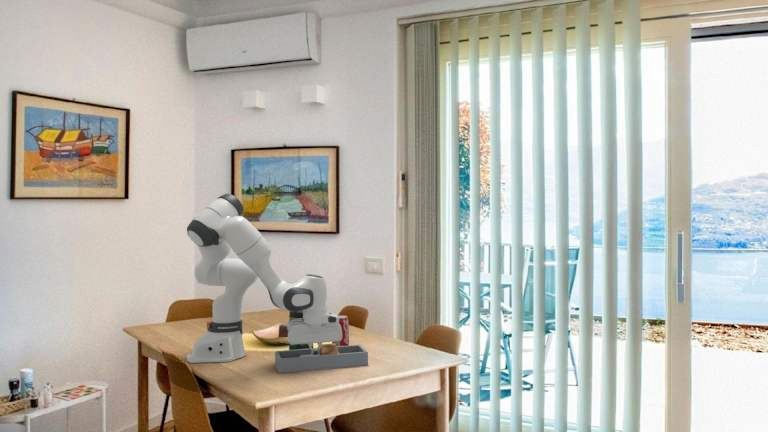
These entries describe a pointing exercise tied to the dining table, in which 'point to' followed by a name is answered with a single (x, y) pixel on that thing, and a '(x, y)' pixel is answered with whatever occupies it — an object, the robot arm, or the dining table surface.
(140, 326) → the dining table surface
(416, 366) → the dining table surface
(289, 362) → the box
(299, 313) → the coffee jar
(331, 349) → the block
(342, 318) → the soda can
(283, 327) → the food item
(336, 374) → the dining table surface
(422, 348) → the dining table surface
